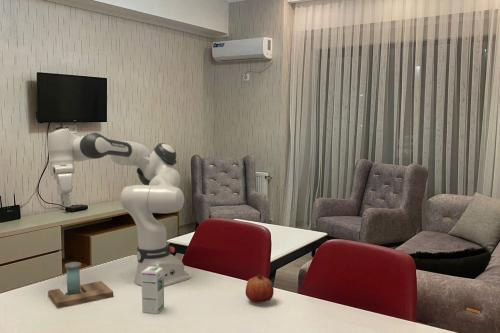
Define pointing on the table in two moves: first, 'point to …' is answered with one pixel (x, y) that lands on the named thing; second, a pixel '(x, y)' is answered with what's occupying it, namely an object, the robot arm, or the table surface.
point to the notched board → (81, 295)
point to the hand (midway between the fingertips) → (65, 205)
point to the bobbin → (73, 278)
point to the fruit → (259, 289)
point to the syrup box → (152, 290)
